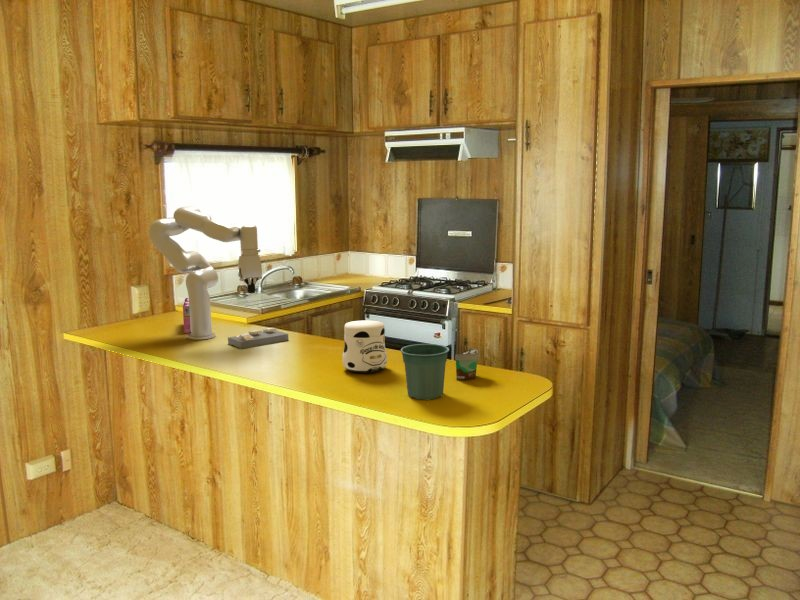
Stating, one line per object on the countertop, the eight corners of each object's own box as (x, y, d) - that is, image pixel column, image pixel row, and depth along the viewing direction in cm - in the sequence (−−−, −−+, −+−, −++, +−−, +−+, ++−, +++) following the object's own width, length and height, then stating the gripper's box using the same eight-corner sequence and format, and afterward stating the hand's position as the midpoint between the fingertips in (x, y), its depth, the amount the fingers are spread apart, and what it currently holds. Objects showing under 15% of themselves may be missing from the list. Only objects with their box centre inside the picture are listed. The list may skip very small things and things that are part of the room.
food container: (469, 383, 256) (470, 356, 254) (454, 381, 259) (454, 354, 258) (484, 375, 266) (484, 349, 265) (469, 373, 270) (470, 347, 268)
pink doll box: (186, 323, 365) (185, 297, 362) (202, 322, 367) (201, 296, 364) (183, 333, 342) (182, 305, 339) (201, 332, 344) (199, 304, 341)
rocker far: (263, 332, 330) (262, 328, 330) (270, 331, 332) (269, 327, 332) (269, 332, 325) (269, 328, 325) (276, 330, 328) (275, 327, 327)
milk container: (377, 377, 264) (376, 330, 261) (335, 373, 270) (334, 327, 267) (393, 366, 280) (393, 321, 277) (353, 362, 286) (352, 318, 283)
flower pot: (391, 397, 241) (391, 351, 238) (416, 385, 255) (416, 341, 252) (434, 405, 232) (434, 357, 230) (457, 392, 246) (457, 346, 243)
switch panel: (228, 343, 319) (227, 336, 319) (275, 335, 334) (274, 329, 334) (240, 348, 310) (240, 341, 310) (288, 340, 325) (288, 333, 325)
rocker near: (239, 336, 316) (239, 333, 315) (246, 335, 318) (247, 332, 318) (246, 341, 312) (246, 338, 311) (253, 340, 314) (253, 336, 313)
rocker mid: (248, 334, 325) (248, 331, 325) (255, 333, 327) (255, 329, 327) (254, 334, 320) (254, 330, 320) (261, 333, 323) (261, 329, 323)
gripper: (260, 250, 327) (262, 290, 330) (230, 253, 317) (232, 293, 320) (268, 251, 321) (270, 292, 324) (238, 254, 311) (240, 295, 315)
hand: (251, 292), depth 322 cm, fingers closed
